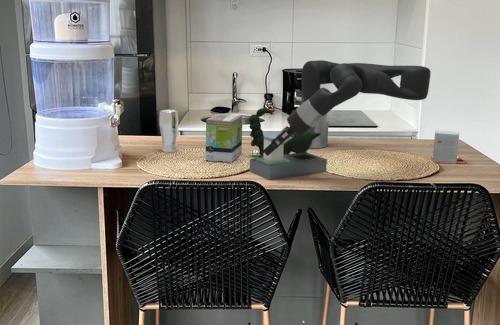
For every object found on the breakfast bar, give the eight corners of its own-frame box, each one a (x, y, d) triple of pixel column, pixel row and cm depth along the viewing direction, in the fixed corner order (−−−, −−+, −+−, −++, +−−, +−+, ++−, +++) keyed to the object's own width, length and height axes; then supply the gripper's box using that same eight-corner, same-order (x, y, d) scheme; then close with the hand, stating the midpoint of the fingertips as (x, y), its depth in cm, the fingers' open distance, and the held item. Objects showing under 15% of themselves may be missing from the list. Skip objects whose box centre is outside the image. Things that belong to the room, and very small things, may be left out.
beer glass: (156, 151, 204) (155, 111, 200) (166, 147, 210) (165, 109, 207) (173, 153, 201) (172, 112, 198) (182, 149, 208) (181, 110, 204)
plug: (274, 171, 179) (275, 134, 176) (283, 174, 175) (284, 137, 172) (263, 172, 176) (263, 136, 173) (270, 176, 173) (271, 138, 170)
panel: (304, 163, 189) (304, 150, 188) (326, 171, 179) (326, 157, 178) (249, 171, 178) (249, 157, 177) (269, 179, 168) (270, 165, 167)
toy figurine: (251, 164, 194) (322, 159, 193) (247, 111, 190) (320, 105, 188) (252, 158, 203) (320, 153, 202) (248, 107, 199) (318, 102, 197)
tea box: (233, 163, 189) (233, 120, 185) (204, 161, 190) (204, 119, 187) (242, 153, 203) (242, 113, 199) (216, 152, 205) (215, 112, 201)
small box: (456, 160, 196) (459, 131, 194) (456, 164, 191) (459, 134, 189) (432, 158, 199) (435, 129, 196) (432, 162, 194) (435, 132, 191)
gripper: (309, 130, 161) (270, 164, 168) (318, 122, 175) (282, 154, 181) (292, 111, 162) (254, 146, 168) (302, 105, 175) (267, 137, 181)
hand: (269, 150), depth 174 cm, fingers open, 8 cm apart
